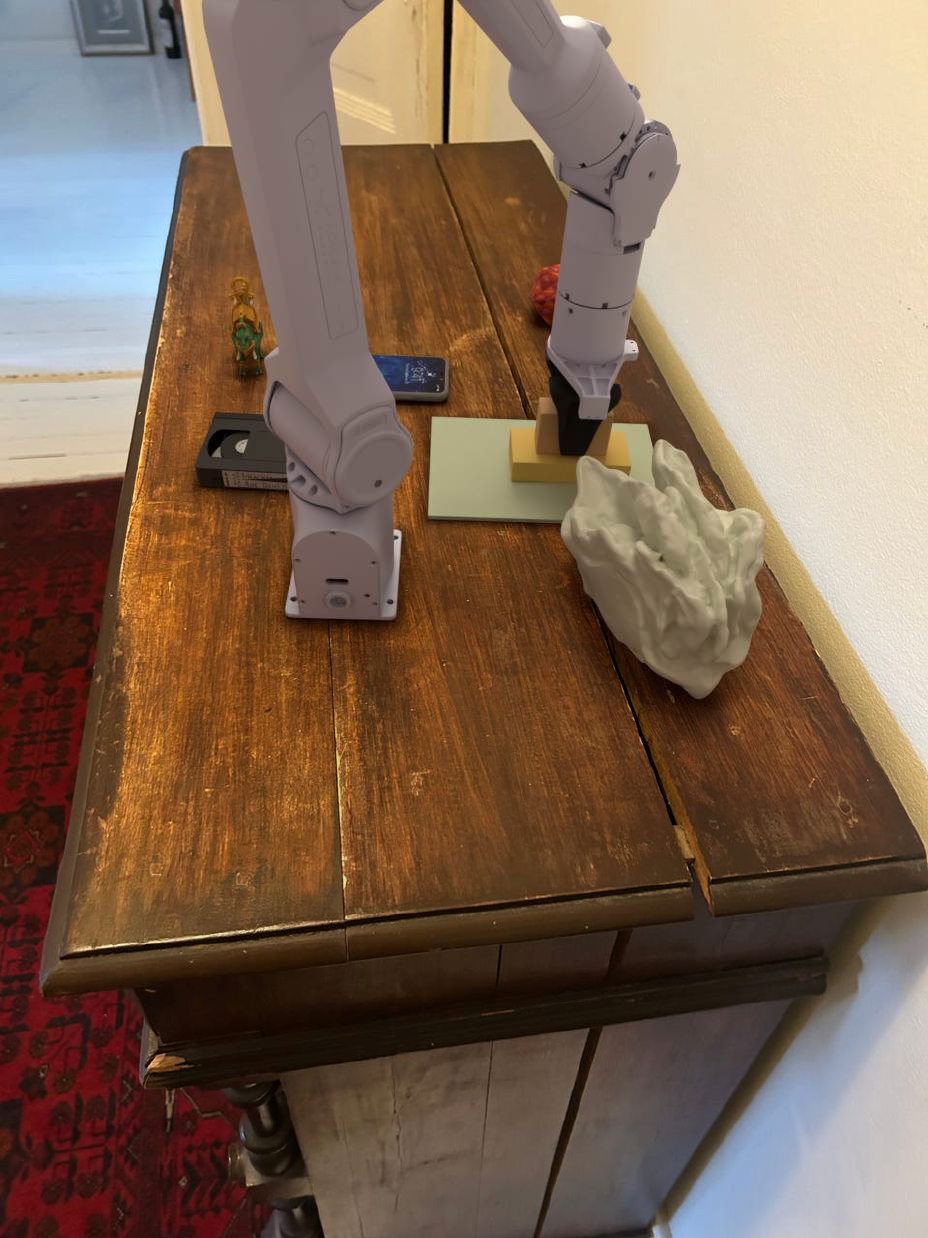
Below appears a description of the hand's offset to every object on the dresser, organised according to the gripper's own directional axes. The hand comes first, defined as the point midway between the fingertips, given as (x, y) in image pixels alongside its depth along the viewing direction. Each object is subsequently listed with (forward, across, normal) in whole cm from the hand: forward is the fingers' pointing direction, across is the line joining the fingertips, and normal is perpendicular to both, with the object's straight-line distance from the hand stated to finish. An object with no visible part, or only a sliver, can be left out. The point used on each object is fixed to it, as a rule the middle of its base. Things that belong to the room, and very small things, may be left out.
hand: (570, 442), depth 74 cm
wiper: (+2, 0, 0) cm, 2 cm away
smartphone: (+3, +13, +18) cm, 22 cm away
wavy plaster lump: (+3, -18, -4) cm, 18 cm away
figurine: (+3, +16, +30) cm, 34 cm away
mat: (+3, 0, +2) cm, 3 cm away
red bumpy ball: (+3, +27, -1) cm, 27 cm away
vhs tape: (+3, 0, +24) cm, 24 cm away
